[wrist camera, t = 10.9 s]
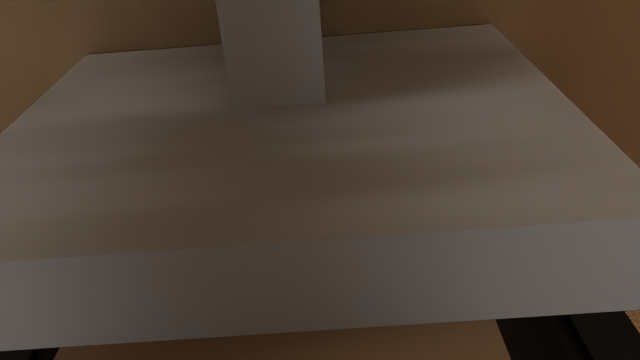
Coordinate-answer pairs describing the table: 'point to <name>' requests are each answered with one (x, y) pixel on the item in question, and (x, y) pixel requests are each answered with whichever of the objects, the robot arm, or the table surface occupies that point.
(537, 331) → the robot arm
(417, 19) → the table surface
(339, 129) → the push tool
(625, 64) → the table surface
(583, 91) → the table surface
